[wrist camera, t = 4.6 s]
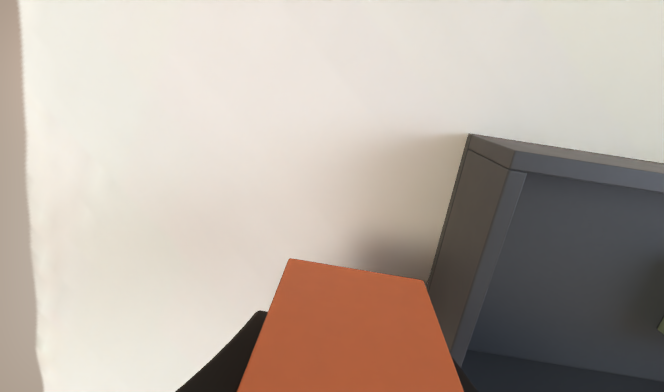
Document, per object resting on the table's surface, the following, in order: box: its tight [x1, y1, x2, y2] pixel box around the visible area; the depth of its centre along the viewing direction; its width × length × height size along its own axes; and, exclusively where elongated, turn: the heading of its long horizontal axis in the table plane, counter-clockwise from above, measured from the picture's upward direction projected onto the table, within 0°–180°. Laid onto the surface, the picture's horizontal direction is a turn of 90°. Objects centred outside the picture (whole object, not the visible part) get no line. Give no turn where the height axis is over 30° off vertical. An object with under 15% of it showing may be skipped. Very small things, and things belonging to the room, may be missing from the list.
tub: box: [426, 134, 664, 392], centre depth 16 cm, size 13×20×5 cm, turn 82°
